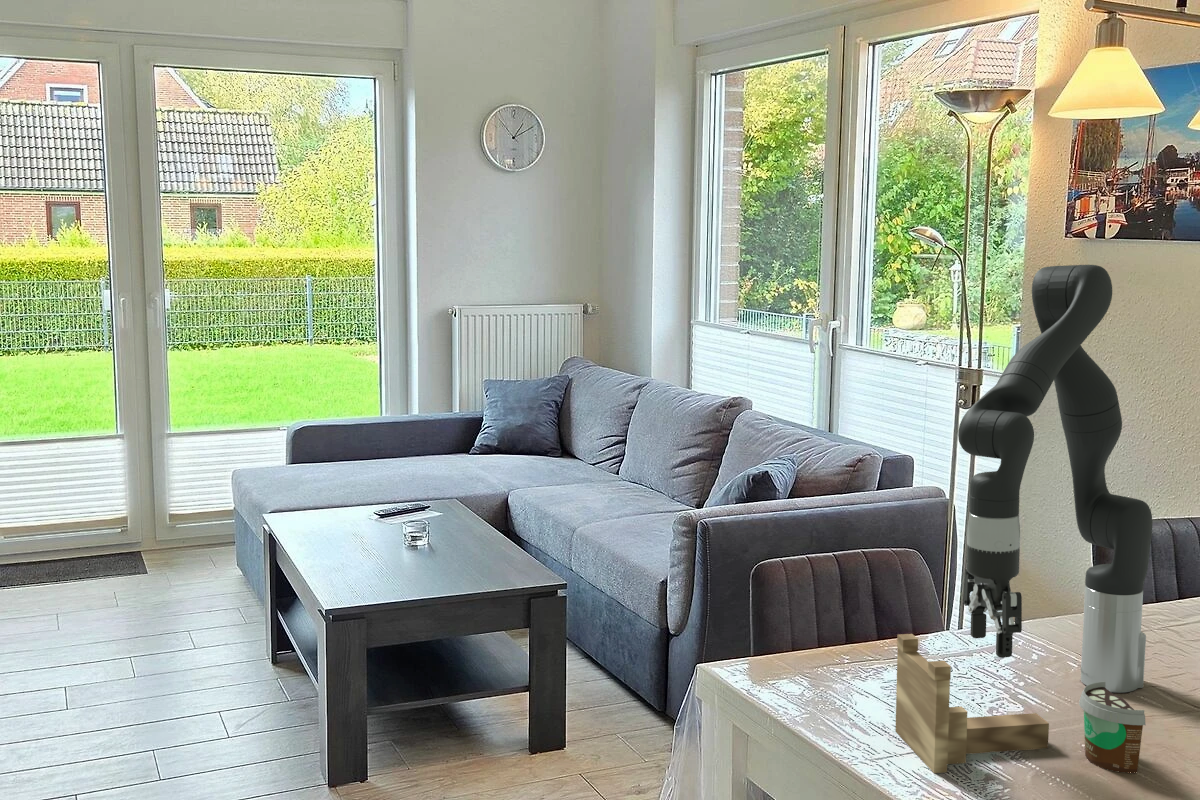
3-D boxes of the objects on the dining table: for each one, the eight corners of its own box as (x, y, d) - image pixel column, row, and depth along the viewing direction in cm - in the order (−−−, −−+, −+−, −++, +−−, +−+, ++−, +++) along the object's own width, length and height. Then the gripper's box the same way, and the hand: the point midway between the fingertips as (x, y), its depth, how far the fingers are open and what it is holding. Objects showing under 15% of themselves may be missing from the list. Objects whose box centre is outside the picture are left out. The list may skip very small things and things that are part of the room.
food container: (1061, 743, 185) (1064, 681, 184) (1100, 742, 186) (1103, 680, 184) (1101, 779, 173) (1105, 713, 172) (1142, 777, 174) (1146, 711, 172)
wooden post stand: (931, 728, 191) (934, 631, 189) (973, 770, 176) (976, 665, 174) (894, 731, 190) (896, 633, 188) (932, 773, 176) (935, 668, 173)
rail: (1035, 737, 188) (1036, 700, 187) (1047, 748, 184) (1049, 710, 183) (924, 745, 185) (925, 708, 184) (935, 756, 181) (936, 718, 180)
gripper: (1040, 554, 173) (1037, 661, 176) (995, 529, 187) (992, 629, 190) (991, 557, 172) (988, 665, 175) (949, 532, 186) (947, 632, 189)
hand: (990, 646), depth 182 cm, fingers open, 8 cm apart
